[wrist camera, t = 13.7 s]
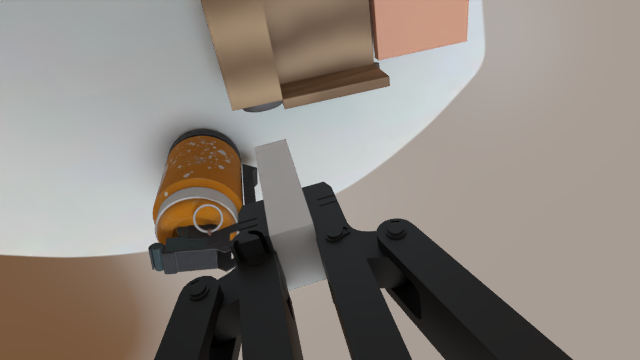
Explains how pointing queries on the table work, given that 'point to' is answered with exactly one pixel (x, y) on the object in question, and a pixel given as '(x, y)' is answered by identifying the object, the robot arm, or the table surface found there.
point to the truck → (292, 50)
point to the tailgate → (417, 25)
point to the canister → (200, 204)
